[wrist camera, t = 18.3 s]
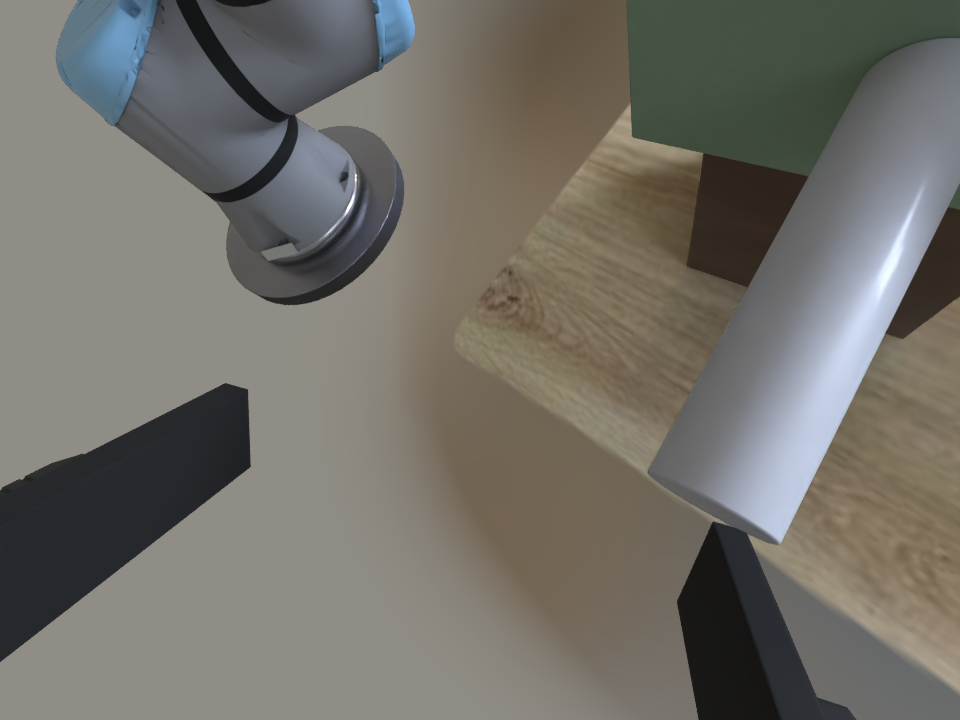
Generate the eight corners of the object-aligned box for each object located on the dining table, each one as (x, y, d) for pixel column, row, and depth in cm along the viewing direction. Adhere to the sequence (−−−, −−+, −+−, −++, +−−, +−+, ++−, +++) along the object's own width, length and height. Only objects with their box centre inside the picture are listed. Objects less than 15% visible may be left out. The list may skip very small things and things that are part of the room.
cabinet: (755, 144, 37) (992, -699, 12) (976, 189, 31) (2545, -1432, 5) (686, 266, 35) (781, -390, 10) (902, 339, 29) (2572, -903, 4)
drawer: (782, -106, 17) (841, -387, 12) (1395, -124, 11) (2076, -718, 6) (478, 389, 14) (381, 310, 9) (1062, 725, 8) (1752, 1052, 3)
